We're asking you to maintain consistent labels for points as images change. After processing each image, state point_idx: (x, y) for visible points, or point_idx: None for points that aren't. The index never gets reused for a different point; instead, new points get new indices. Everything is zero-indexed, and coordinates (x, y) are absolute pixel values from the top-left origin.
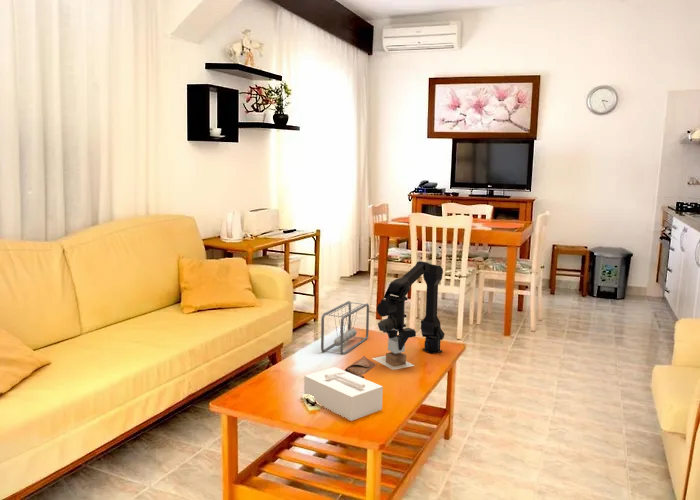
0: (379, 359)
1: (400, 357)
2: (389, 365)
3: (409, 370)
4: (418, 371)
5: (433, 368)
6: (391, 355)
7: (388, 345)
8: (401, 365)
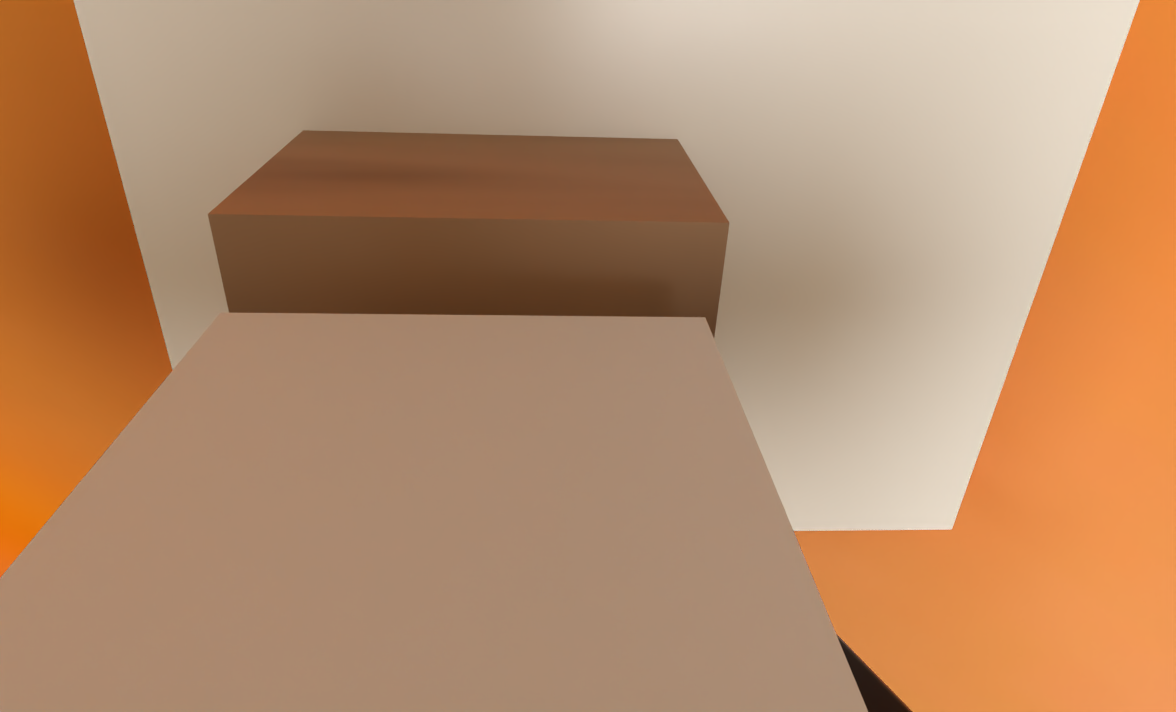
0: (930, 124)
1: None
2: (425, 76)
3: (126, 354)
4: (27, 458)
5: None
6: (421, 239)
7: (711, 431)
8: None
